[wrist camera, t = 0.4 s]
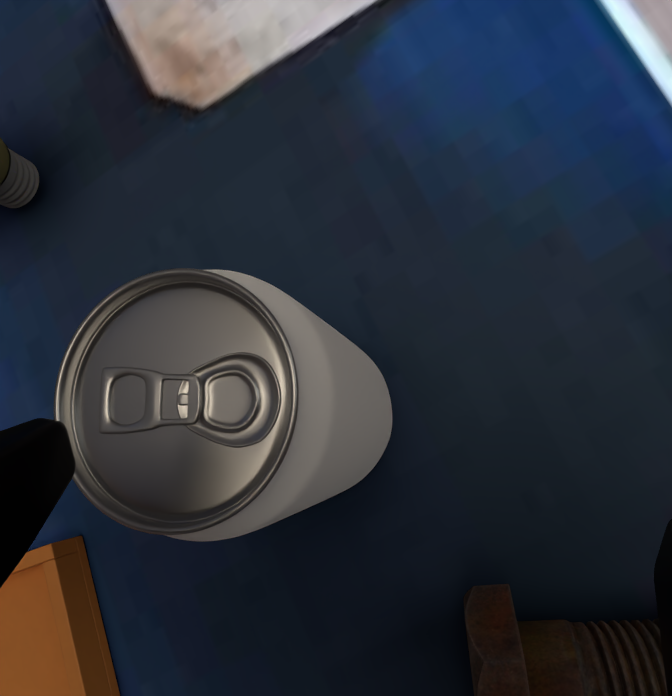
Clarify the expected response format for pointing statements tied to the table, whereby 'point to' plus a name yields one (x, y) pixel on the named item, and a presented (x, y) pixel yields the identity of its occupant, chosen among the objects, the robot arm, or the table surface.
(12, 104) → the table surface
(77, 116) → the table surface
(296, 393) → the can
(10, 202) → the light bulb
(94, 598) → the tray
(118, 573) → the table surface
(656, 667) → the bolt
